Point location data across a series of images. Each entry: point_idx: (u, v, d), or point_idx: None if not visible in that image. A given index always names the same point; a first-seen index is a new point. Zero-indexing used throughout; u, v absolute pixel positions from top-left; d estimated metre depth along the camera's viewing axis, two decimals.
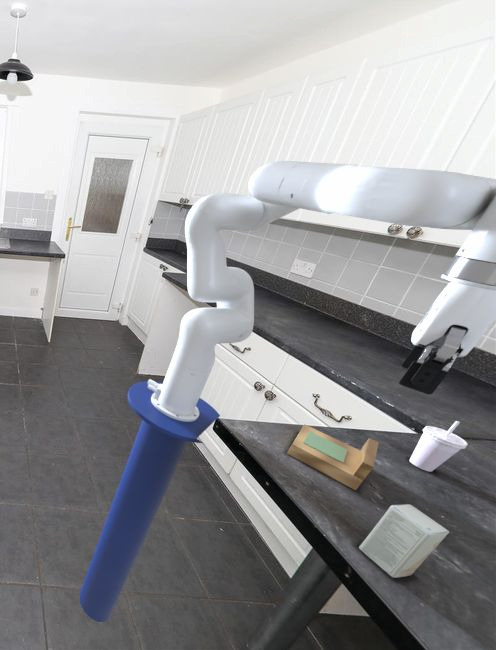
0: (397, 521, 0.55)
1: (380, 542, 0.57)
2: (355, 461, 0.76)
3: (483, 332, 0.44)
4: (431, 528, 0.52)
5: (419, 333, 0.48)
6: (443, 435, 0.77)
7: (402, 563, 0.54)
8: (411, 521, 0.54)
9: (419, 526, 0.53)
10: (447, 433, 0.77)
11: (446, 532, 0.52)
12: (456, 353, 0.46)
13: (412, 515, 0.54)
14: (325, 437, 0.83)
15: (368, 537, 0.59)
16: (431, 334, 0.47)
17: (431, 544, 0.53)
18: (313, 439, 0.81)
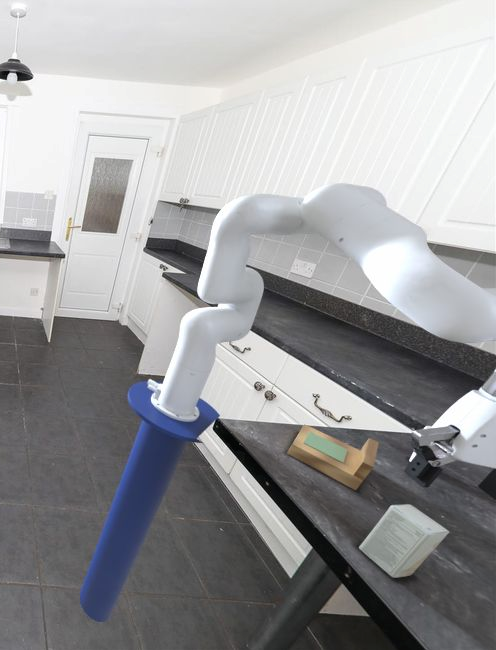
0: (397, 521, 0.55)
1: (380, 542, 0.57)
2: (355, 461, 0.76)
3: (473, 437, 0.46)
4: (431, 528, 0.52)
5: None
6: None
7: (402, 563, 0.54)
8: (411, 521, 0.54)
9: (419, 526, 0.53)
10: None
11: (446, 532, 0.52)
12: (452, 453, 0.48)
13: (412, 515, 0.54)
14: (325, 437, 0.83)
15: (368, 537, 0.59)
16: None
17: (431, 544, 0.53)
18: (313, 439, 0.81)
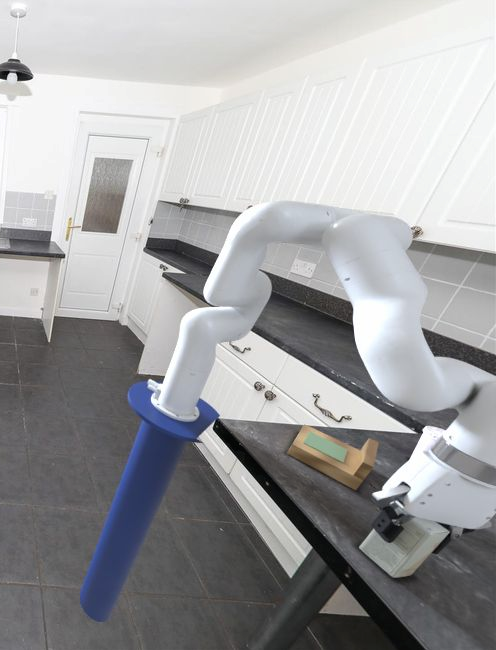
0: None
1: (380, 542, 0.57)
2: (355, 461, 0.76)
3: (421, 496, 0.51)
4: (432, 528, 0.52)
5: None
6: None
7: (402, 563, 0.54)
8: (411, 521, 0.54)
9: (419, 526, 0.53)
10: None
11: (446, 532, 0.52)
12: (407, 513, 0.53)
13: None
14: (325, 437, 0.83)
15: (368, 537, 0.59)
16: (389, 484, 0.55)
17: (431, 544, 0.53)
18: (313, 439, 0.81)
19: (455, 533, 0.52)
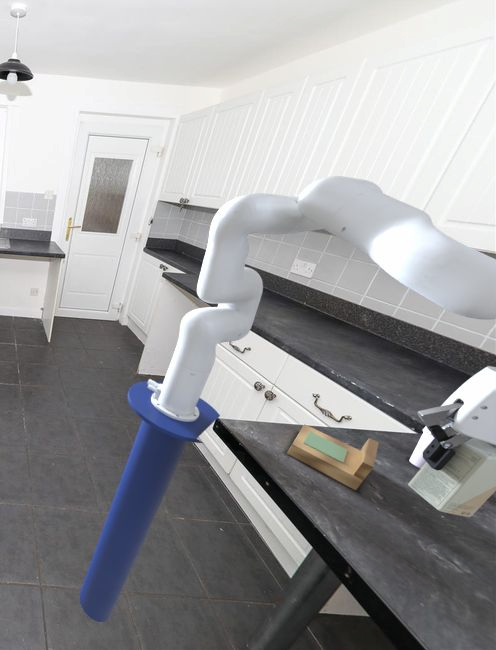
0: (453, 449, 0.50)
1: (431, 475, 0.52)
2: (355, 461, 0.76)
3: (473, 409, 0.46)
4: (493, 455, 0.47)
5: None
6: None
7: (451, 494, 0.49)
8: (468, 446, 0.48)
9: (476, 451, 0.47)
10: None
11: None
12: (459, 433, 0.48)
13: (474, 443, 0.49)
14: (325, 437, 0.83)
15: (419, 471, 0.53)
16: (444, 405, 0.50)
17: (493, 474, 0.47)
18: (313, 439, 0.81)
19: None
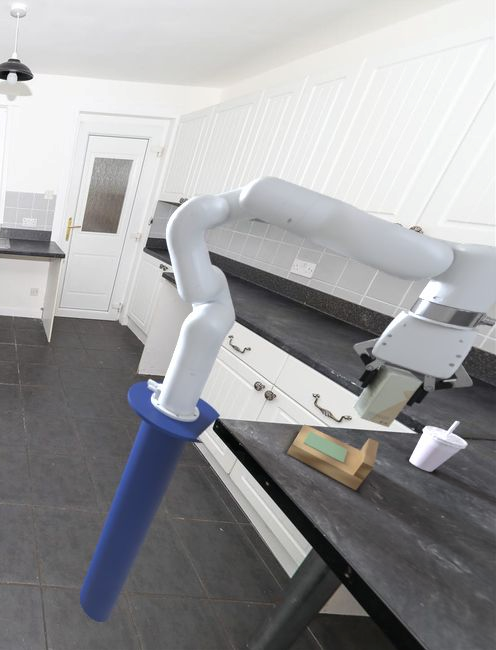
0: (379, 373, 0.67)
1: (364, 395, 0.69)
2: (355, 461, 0.76)
3: (383, 337, 0.65)
4: (401, 375, 0.64)
5: None
6: (443, 435, 0.77)
7: (369, 404, 0.67)
8: (386, 369, 0.66)
9: (388, 371, 0.65)
10: (447, 433, 0.77)
11: (417, 381, 0.62)
12: (378, 358, 0.66)
13: (395, 369, 0.66)
14: (325, 437, 0.83)
15: (360, 395, 0.71)
16: None
17: (399, 389, 0.64)
18: (313, 439, 0.81)
19: (428, 385, 0.62)
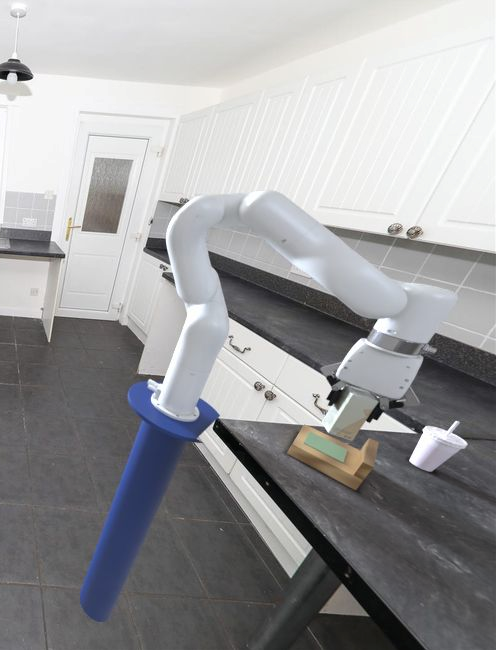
0: (343, 393, 0.76)
1: (331, 412, 0.78)
2: (355, 461, 0.76)
3: (344, 362, 0.73)
4: (360, 395, 0.72)
5: None
6: (443, 435, 0.77)
7: (335, 421, 0.75)
8: (348, 390, 0.74)
9: (350, 391, 0.74)
10: (447, 433, 0.77)
11: (374, 401, 0.71)
12: (341, 380, 0.75)
13: (356, 390, 0.74)
14: (325, 437, 0.83)
15: (328, 411, 0.79)
16: None
17: (359, 408, 0.72)
18: (313, 439, 0.81)
19: (383, 404, 0.70)
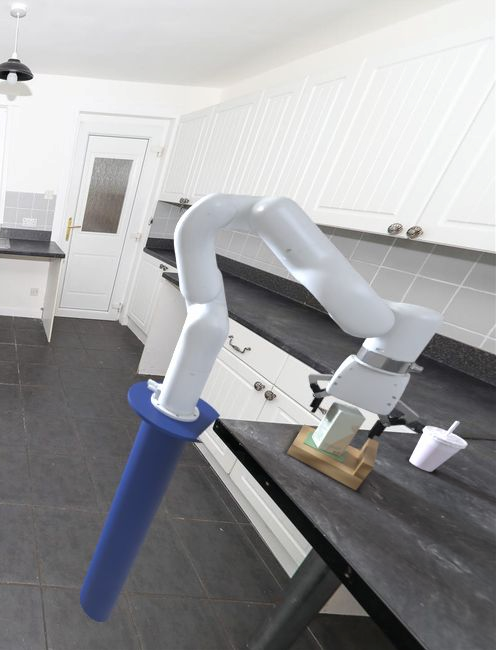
0: (331, 409, 0.78)
1: (320, 427, 0.80)
2: (355, 461, 0.76)
3: (334, 378, 0.75)
4: (348, 412, 0.74)
5: None
6: (443, 435, 0.77)
7: (324, 436, 0.77)
8: (337, 406, 0.76)
9: (338, 408, 0.75)
10: (447, 433, 0.77)
11: (361, 418, 0.73)
12: None
13: (344, 406, 0.76)
14: None
15: (317, 427, 0.81)
16: None
17: (347, 424, 0.74)
18: None
19: (385, 421, 0.70)
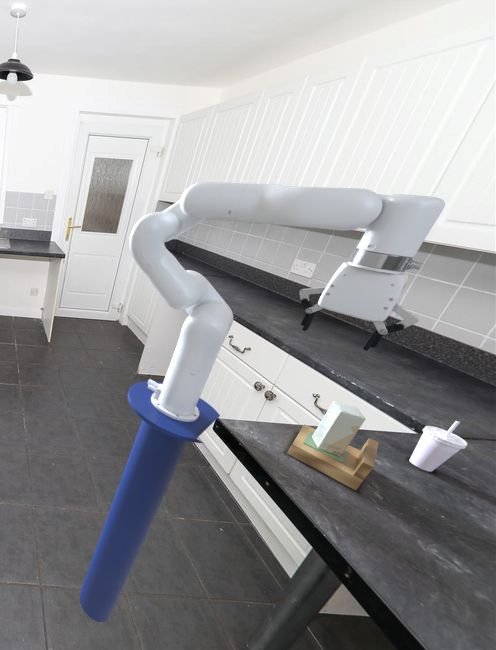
0: (332, 409, 0.78)
1: (320, 427, 0.80)
2: (355, 461, 0.76)
3: (327, 288, 0.69)
4: (348, 412, 0.74)
5: None
6: (443, 435, 0.77)
7: (324, 436, 0.77)
8: (337, 406, 0.76)
9: (338, 408, 0.75)
10: (447, 433, 0.77)
11: (361, 418, 0.73)
12: None
13: (344, 406, 0.76)
14: None
15: None
16: None
17: (347, 424, 0.74)
18: None
19: (382, 328, 0.65)
